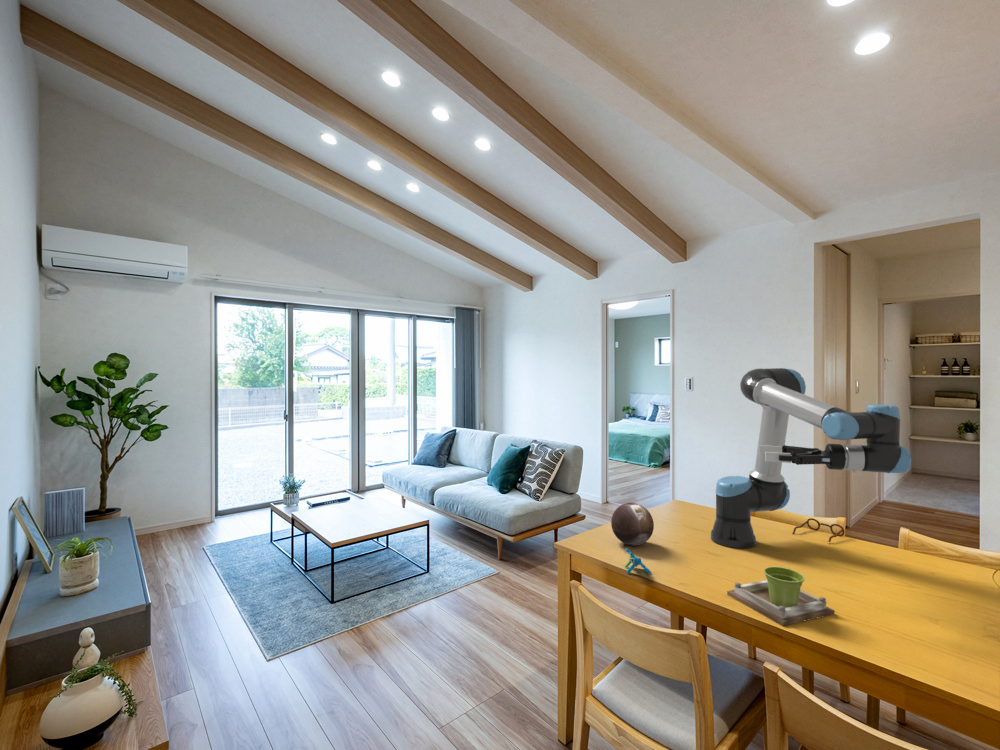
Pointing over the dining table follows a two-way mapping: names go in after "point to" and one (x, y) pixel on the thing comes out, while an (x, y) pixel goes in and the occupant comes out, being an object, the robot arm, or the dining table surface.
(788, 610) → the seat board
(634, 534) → the wooden sphere
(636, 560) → the blue plastic toy
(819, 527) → the glasses
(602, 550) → the dining table surface
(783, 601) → the plant pot
